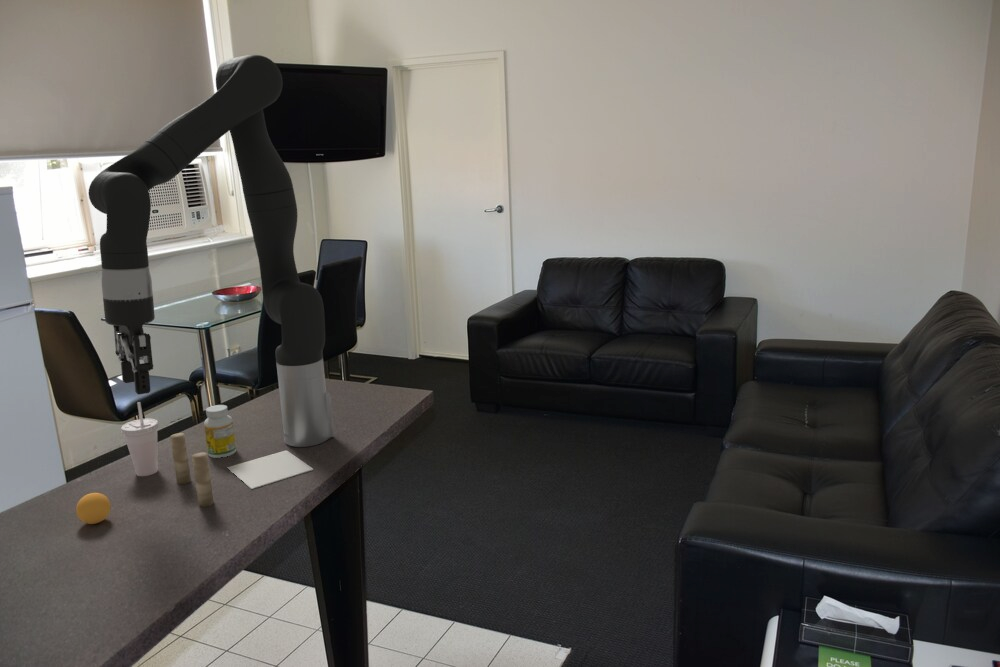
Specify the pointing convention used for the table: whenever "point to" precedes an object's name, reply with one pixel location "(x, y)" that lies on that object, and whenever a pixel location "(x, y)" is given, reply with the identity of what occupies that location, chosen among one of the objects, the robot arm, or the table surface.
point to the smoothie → (142, 443)
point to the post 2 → (202, 479)
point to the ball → (93, 508)
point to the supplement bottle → (219, 432)
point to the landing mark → (269, 469)
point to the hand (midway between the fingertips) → (136, 387)
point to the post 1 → (180, 458)
